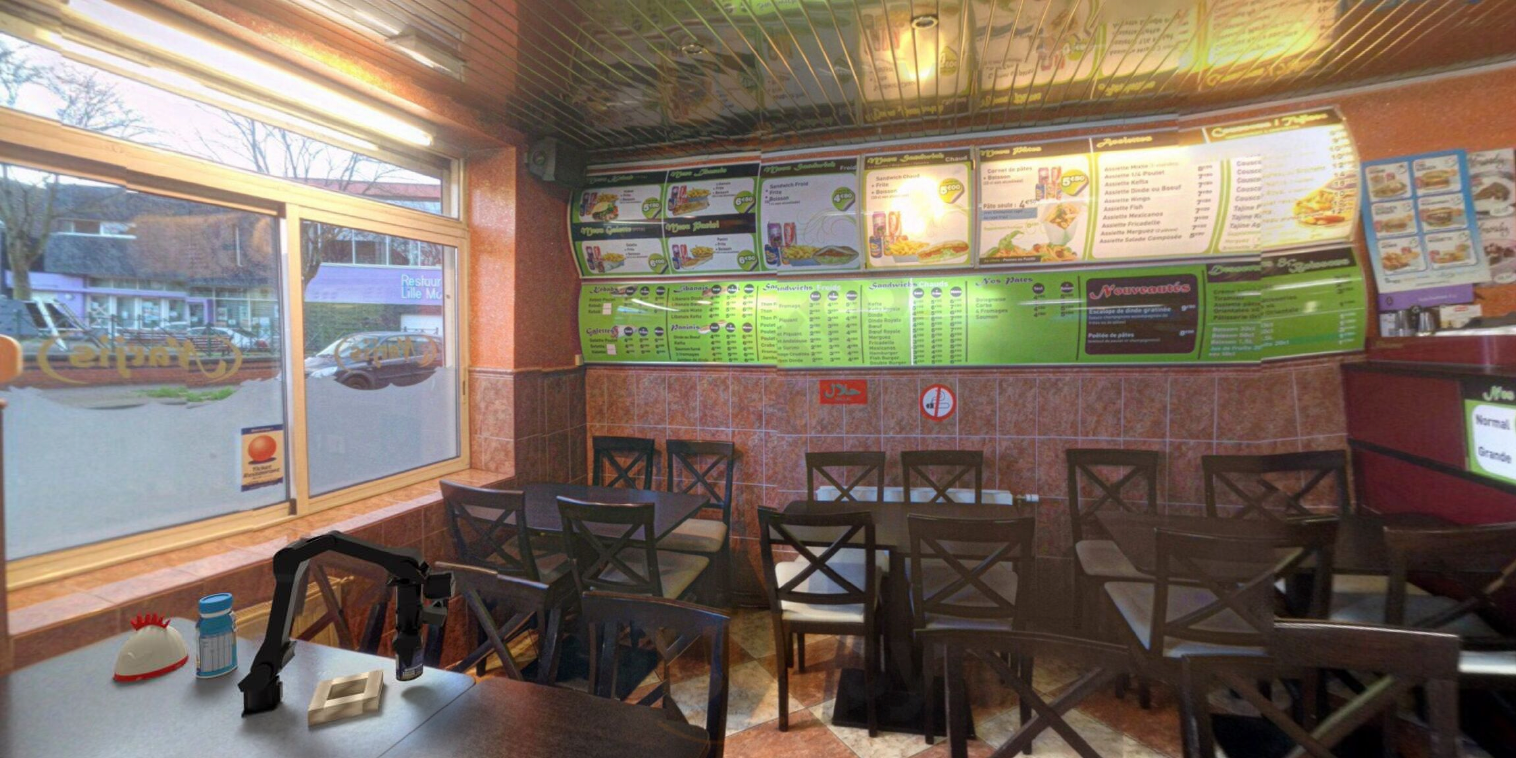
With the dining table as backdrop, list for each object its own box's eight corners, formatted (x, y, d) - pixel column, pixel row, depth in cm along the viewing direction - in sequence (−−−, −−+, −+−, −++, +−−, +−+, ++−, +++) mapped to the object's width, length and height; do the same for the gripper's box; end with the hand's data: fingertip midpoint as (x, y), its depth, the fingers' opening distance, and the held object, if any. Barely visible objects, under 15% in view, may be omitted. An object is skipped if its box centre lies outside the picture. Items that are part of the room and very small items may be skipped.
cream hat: (138, 658, 163) (136, 605, 162) (199, 651, 167) (198, 599, 166) (99, 685, 150) (98, 627, 149) (167, 677, 154) (166, 621, 153)
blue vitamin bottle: (212, 681, 152) (210, 605, 151) (186, 677, 154) (184, 602, 153) (246, 664, 160) (245, 592, 159) (221, 661, 162) (220, 589, 161)
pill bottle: (428, 670, 153) (428, 629, 153) (412, 683, 147) (412, 640, 147) (406, 668, 154) (406, 627, 154) (389, 681, 148) (389, 638, 147)
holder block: (307, 725, 135) (307, 710, 135) (319, 695, 147) (319, 681, 147) (377, 710, 141) (377, 696, 141) (383, 682, 153) (383, 669, 153)
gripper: (444, 609, 145) (444, 671, 146) (445, 582, 162) (445, 638, 162) (391, 617, 140) (392, 681, 141) (398, 589, 157) (398, 646, 157)
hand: (409, 660), depth 150 cm, fingers closed on pill bottle, 6 cm apart
